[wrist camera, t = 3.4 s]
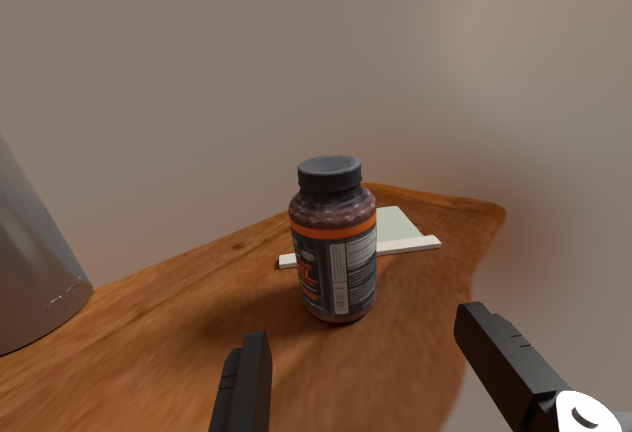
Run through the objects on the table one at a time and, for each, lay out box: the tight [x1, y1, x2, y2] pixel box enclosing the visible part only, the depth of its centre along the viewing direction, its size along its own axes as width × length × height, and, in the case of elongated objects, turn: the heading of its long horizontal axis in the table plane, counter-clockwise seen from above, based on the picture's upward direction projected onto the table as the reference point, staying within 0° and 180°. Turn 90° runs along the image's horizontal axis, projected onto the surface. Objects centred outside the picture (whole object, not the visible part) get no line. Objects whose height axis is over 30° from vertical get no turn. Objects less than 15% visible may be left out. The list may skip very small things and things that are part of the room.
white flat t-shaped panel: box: [279, 206, 441, 269], centre depth 31 cm, size 16×10×1 cm, turn 95°
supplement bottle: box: [289, 155, 377, 323], centre depth 19 cm, size 6×6×11 cm
